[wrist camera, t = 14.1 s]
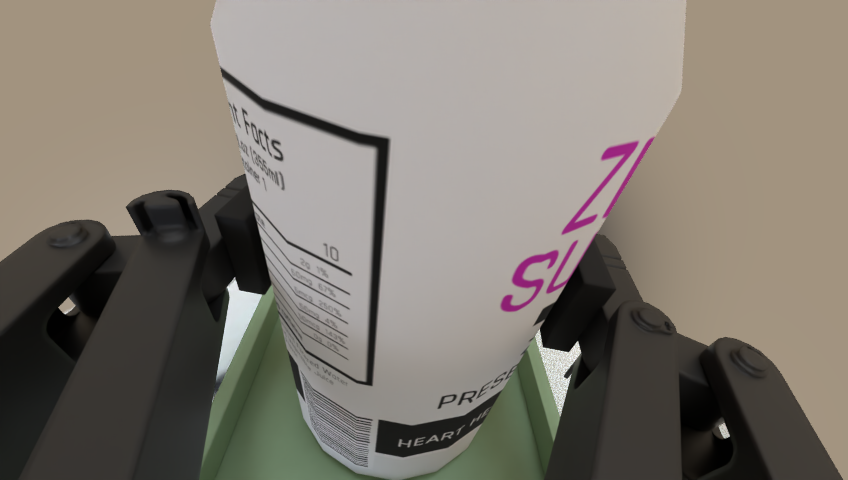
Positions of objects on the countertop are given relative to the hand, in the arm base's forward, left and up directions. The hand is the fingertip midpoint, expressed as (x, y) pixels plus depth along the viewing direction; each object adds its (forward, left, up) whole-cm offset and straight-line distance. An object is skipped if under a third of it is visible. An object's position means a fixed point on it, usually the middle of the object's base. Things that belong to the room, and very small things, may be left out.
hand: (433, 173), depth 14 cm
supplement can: (-1, -5, -8) cm, 9 cm away
